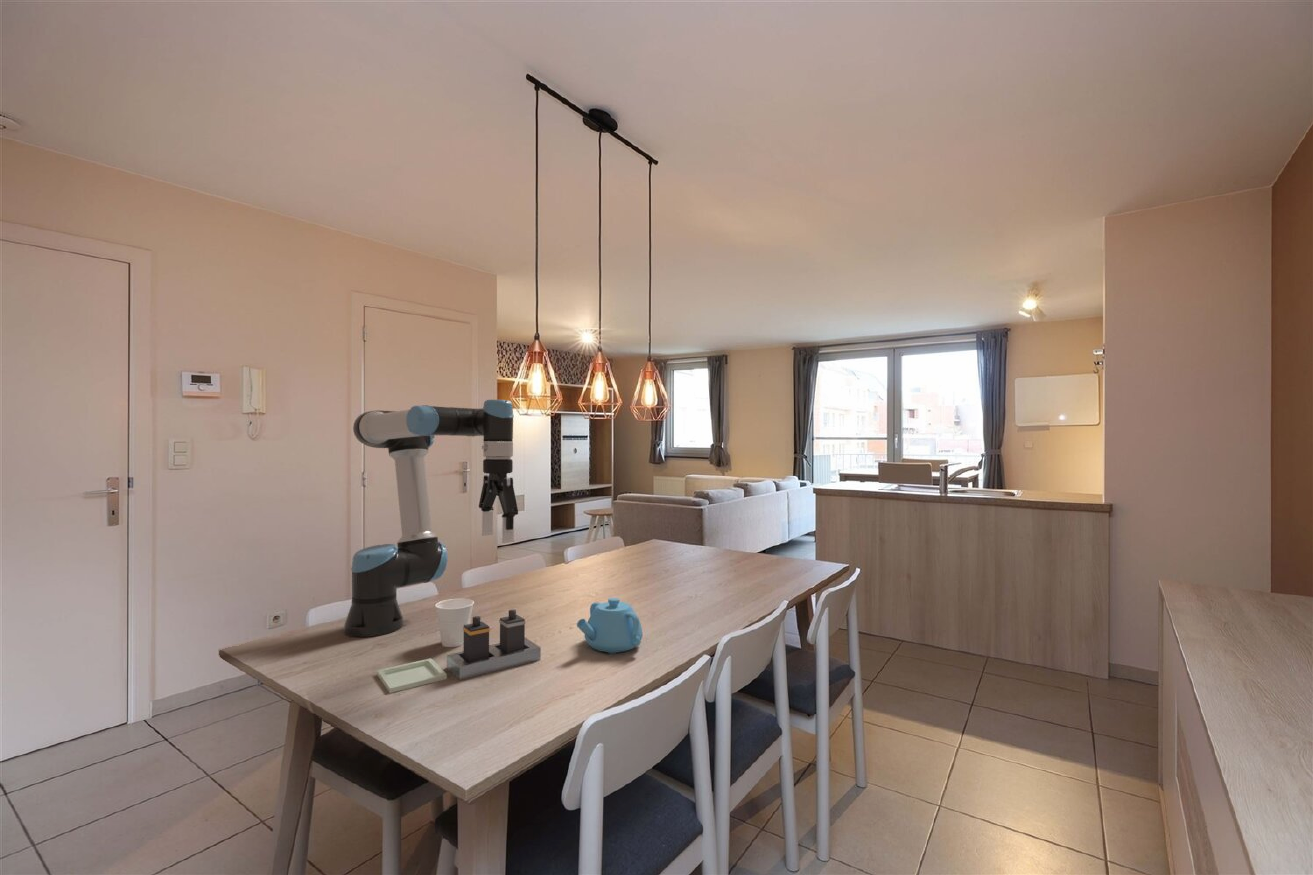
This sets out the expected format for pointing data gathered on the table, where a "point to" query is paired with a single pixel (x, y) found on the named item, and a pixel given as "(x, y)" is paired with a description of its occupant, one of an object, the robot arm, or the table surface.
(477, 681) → the table surface
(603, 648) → the teapot
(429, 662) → the tray
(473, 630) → the plug
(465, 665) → the strip
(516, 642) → the twin plug
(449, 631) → the cup
